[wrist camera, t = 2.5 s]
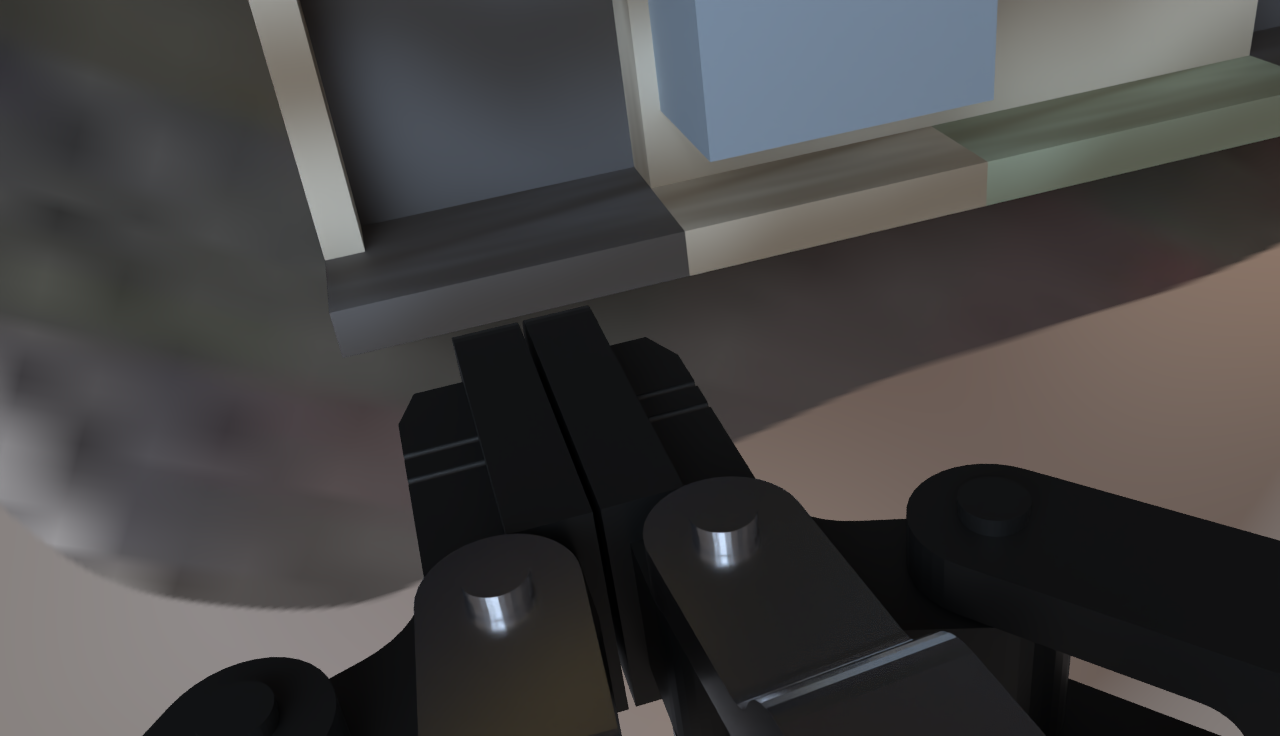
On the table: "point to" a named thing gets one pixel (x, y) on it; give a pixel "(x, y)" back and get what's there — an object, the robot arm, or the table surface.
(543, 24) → the trap lane
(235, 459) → the table surface
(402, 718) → the robot arm
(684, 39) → the slate block
